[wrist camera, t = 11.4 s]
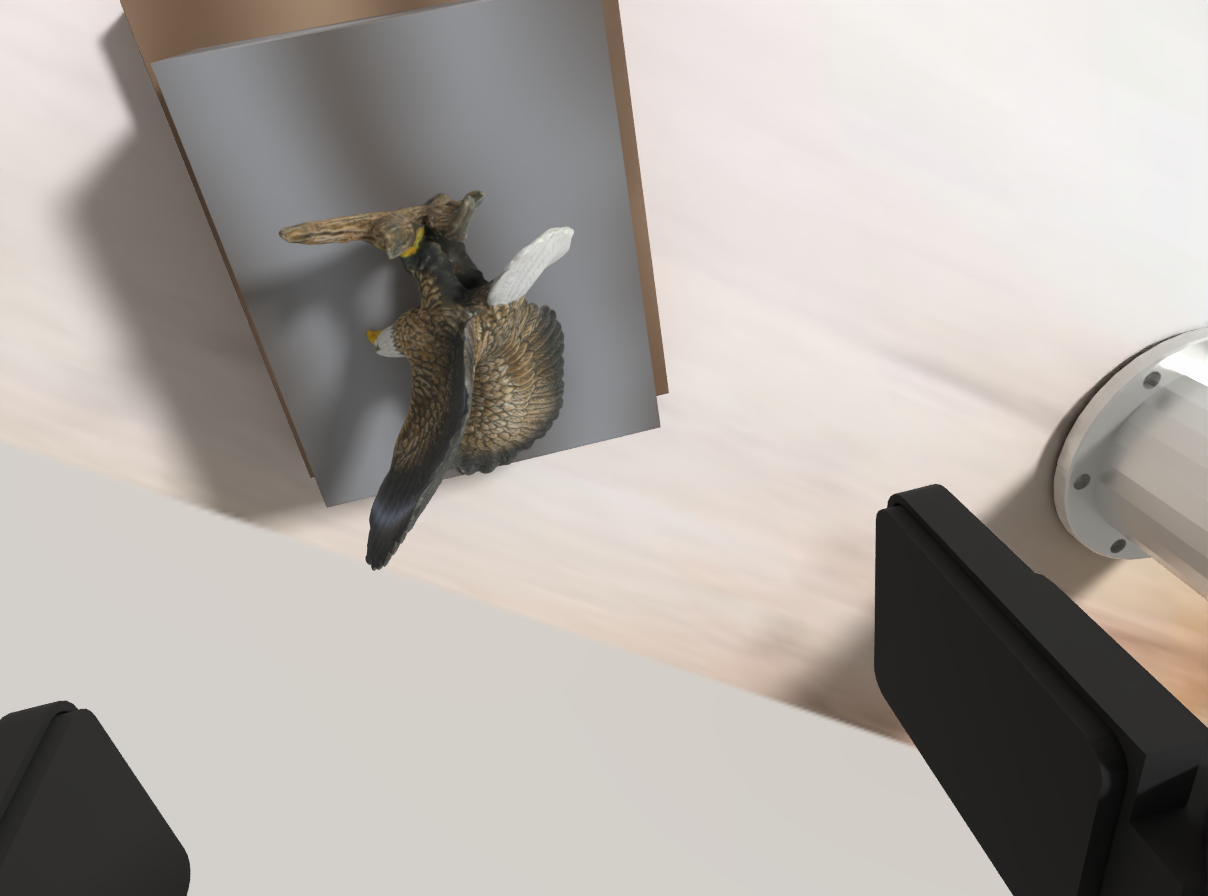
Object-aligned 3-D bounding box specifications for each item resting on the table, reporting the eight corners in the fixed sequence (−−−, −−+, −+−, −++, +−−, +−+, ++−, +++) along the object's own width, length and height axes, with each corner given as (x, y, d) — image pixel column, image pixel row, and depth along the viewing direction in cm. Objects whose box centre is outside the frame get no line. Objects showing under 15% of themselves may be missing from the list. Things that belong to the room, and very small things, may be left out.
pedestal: (596, -83, 26) (648, -101, 20) (659, 377, 34) (707, 454, 28) (134, -1, 24) (54, 4, 19) (314, 458, 33) (295, 555, 27)
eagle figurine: (212, 232, 21) (310, 552, 24) (342, 218, 16) (447, 629, 19) (464, 186, 25) (519, 459, 28) (627, 164, 20) (674, 500, 23)
